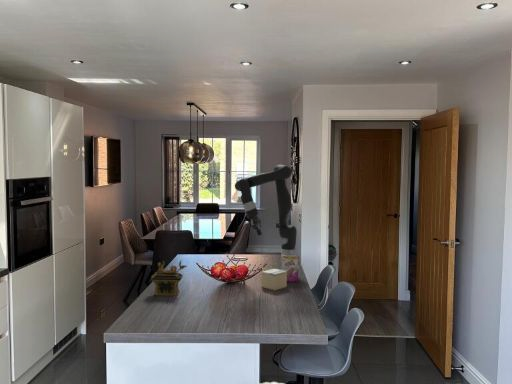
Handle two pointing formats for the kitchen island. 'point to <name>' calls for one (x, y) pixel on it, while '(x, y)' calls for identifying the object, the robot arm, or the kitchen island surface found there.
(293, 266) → the candy bar box
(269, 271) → the lid flap
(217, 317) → the kitchen island surface
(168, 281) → the decorative box
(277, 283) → the carton
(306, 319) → the kitchen island surface
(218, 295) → the kitchen island surface
